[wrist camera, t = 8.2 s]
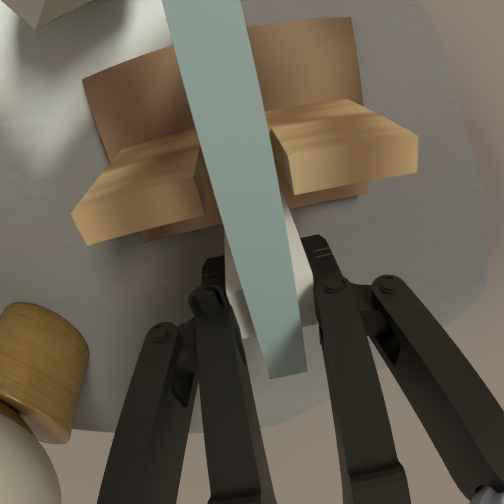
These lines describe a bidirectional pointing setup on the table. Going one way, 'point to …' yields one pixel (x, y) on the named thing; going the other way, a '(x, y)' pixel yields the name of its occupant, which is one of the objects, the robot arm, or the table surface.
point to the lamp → (36, 399)
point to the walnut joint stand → (278, 121)
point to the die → (42, 9)
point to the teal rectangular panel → (240, 168)
